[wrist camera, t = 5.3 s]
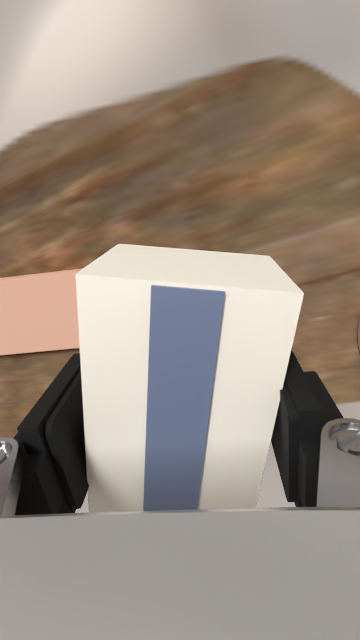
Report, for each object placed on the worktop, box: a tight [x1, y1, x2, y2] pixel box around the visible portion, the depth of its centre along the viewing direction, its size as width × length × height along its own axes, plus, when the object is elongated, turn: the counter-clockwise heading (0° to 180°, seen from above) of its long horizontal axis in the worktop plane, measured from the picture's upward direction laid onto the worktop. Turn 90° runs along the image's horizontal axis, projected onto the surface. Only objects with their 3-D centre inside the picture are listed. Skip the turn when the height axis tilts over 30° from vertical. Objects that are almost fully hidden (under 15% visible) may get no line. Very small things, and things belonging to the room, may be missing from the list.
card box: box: [75, 244, 304, 513], centre depth 11 cm, size 5×9×4 cm, turn 176°
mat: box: [0, 269, 82, 355], centre depth 29 cm, size 14×7×1 cm, turn 97°
